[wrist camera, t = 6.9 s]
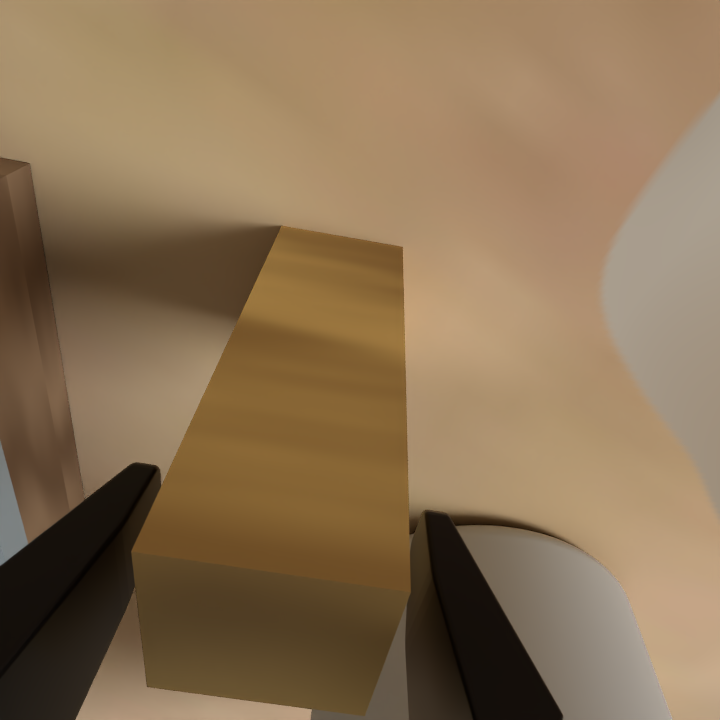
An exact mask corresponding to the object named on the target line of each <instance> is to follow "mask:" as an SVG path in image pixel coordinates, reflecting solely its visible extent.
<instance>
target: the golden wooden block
mask: <svg viewBox="0 0 720 720" xmlns="http://www.w3.org/2000/svg"><path fill="white" fill-rule="evenodd" d="M131 554H132V563H133V571H134V580H135V588H136V597H137V605H138V614H139V622H140V631H141V639H142V648H143V656H144V665H145V673H146V682H147V687H151V688H158V689H166V690H173V691H181V692H188V693H195V694H203V695H210V696H218V697H225V698H233V699H240V700H248V701H255V702H263V703H270V704H277V705H285V706H292V707H300V708H307V709H315V710H322V711H330V712H337V713H344V714H352V715H359V716H365V714H366V711H367V709H368V706H369V703H370V701H371V698H372V695H373V693H374V690H375V687H376V684H377V682H378V679H379V676H380V674H381V671H382V668H383V666H384V663H385V660H386V658H387V655H388V652H389V649H390V647H391V644H392V641H393V639H394V636H395V633H396V631H397V628H398V625H399V623H400V620H401V617H402V615H403V612H404V609H405V606H406V604H407V601H408V598H409V596H410V593H411V580H410V538H409V496H408V453H407V411H406V369H405V326H404V284H403V247H399V246H394V245H388V244H382V243H377V242H371V241H365V240H360V239H354V238H348V237H343V236H337V235H331V234H325V233H320V232H314V231H308V230H303V229H297V228H291V227H286V226H281V228H280V230H279V233H278V235H277V237H276V239H275V241H274V243H273V246H272V248H271V250H270V252H269V254H268V256H267V259H266V261H265V263H264V265H263V267H262V269H261V272H260V274H259V276H258V278H257V280H256V282H255V285H254V287H253V289H252V291H251V293H250V295H249V298H248V300H247V302H246V304H245V306H244V308H243V311H242V313H241V315H240V317H239V319H238V321H237V323H236V326H235V328H234V330H233V332H232V334H231V336H230V339H229V341H228V343H227V345H226V347H225V349H224V352H223V354H222V356H221V358H220V360H219V362H218V365H217V367H216V369H215V371H214V373H213V375H212V378H211V380H210V382H209V384H208V386H207V388H206V391H205V393H204V395H203V397H202V399H201V401H200V404H199V406H198V408H197V410H196V412H195V414H194V417H193V419H192V421H191V423H190V425H189V427H188V430H187V432H186V434H185V436H184V438H183V440H182V443H181V445H180V447H179V449H178V451H177V453H176V456H175V458H174V460H173V462H172V464H171V466H170V469H169V471H168V473H167V475H166V477H165V479H164V482H163V484H162V486H161V488H160V490H159V492H158V495H157V497H156V499H155V501H154V503H153V505H152V507H151V510H150V512H149V514H148V516H147V518H146V520H145V523H144V525H143V527H142V529H141V531H140V533H139V536H138V538H137V540H136V542H135V544H134V546H133V549H132V551H131Z"/></svg>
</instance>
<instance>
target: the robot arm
mask: <svg viewBox="0 0 720 720" xmlns="http://www.w3.org/2000/svg"><path fill="white" fill-rule="evenodd" d="M160 488H161V473H160V469H159V467H158V466H156V465H151V464H145V463H137V462H136V463H133V464H131V465H129V466H128V467H127V468H125V469H124V470H123V471H121V472H120V473H119V474H118V475H116V476H115V477H114V478H112V479H111V480H110V481H109V482H107V483H106V484H105V485H103V486H102V487H101V488H100V489H98V490H97V491H96V492H94V493H93V494H92V495H91V496H89V497H88V498H87V499H85V500H84V501H83V502H82V503H80V504H79V505H78V506H76V507H75V508H74V509H72V510H71V511H70V512H69V513H67V514H66V515H65V516H63V517H62V518H61V519H60V520H58V521H57V522H56V523H54V524H53V525H52V526H51V527H49V528H48V529H47V530H45V531H44V532H43V533H42V534H40V535H39V536H38V537H36V538H35V539H34V540H33V541H31V542H30V543H29V544H27V545H26V546H25V547H24V548H22V549H21V550H20V551H18V552H17V553H16V554H15V555H13V556H12V557H11V558H9V559H8V560H7V561H6V562H4V563H3V564H2V565H0V720H75V719H76V717H77V715H78V713H79V711H80V708H81V706H82V704H83V702H84V700H85V698H86V695H87V693H88V691H89V689H90V687H91V685H92V682H93V680H94V678H95V676H96V674H97V672H98V669H99V667H100V665H101V663H102V661H103V658H104V656H105V654H106V652H107V650H108V648H109V645H110V643H111V641H112V639H113V637H114V635H115V632H116V630H117V628H118V626H119V624H120V622H121V619H122V617H123V615H124V613H125V610H126V608H127V606H128V603H129V601H130V598H131V595H132V593H133V590H134V587H135V580H134V571H133V563H132V554H131V551H132V549H133V546H134V544H135V542H136V540H137V538H138V536H139V533H140V531H141V529H142V527H143V525H144V523H145V520H146V518H147V516H148V514H149V512H150V510H151V507H152V505H153V503H154V501H155V499H156V497H157V495H158V492H159V490H160ZM410 580H411V593H410V596H409V598H408V601H407V611H406V629H405V658H406V676H407V694H408V712H409V720H563V714H562V712H561V710H560V708H559V707H558V705H557V703H556V701H555V700H554V698H553V696H552V694H551V693H550V691H549V689H548V687H547V686H546V684H545V682H544V680H543V679H542V677H541V675H540V673H539V672H538V670H537V668H536V666H535V665H534V663H533V661H532V659H531V658H530V656H529V654H528V652H527V651H526V649H525V647H524V645H523V644H522V642H521V640H520V638H519V637H518V635H517V633H516V631H515V630H514V628H513V626H512V624H511V623H510V621H509V619H508V617H507V616H506V614H505V612H504V610H503V609H502V607H501V605H500V603H499V602H498V600H497V598H496V596H495V595H494V593H493V591H492V589H491V588H490V586H489V584H488V582H487V581H486V579H485V577H484V575H483V574H482V572H481V570H480V568H479V567H478V565H477V563H476V561H475V560H474V558H473V556H472V554H471V553H470V551H469V549H468V547H467V546H466V544H465V542H464V540H463V539H462V537H461V535H460V533H459V532H458V530H457V528H456V526H455V525H454V523H453V521H452V519H451V518H450V516H449V515H448V514H446V513H444V512H438V511H432V510H425V511H423V513H422V514H421V517H420V519H419V522H418V525H417V528H416V530H415V533H414V536H413V538H412V542H411V547H410Z"/></svg>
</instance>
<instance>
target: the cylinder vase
mask: <svg viewBox="0 0 720 720" xmlns="http://www.w3.org/2000/svg"><path fill="white" fill-rule="evenodd" d="M456 528H457V530H458V532H459V533H460V535H461V537H462V539H463V540H464V542H465V544H466V546H467V547H468V549H469V551H470V553H471V554H472V556H473V558H474V560H475V561H476V563H477V565H478V567H479V568H480V570H481V572H482V574H483V575H484V577H485V579H486V581H487V582H488V584H489V586H490V588H491V589H492V591H493V593H494V595H495V596H496V598H497V600H498V602H499V603H500V605H501V607H502V609H503V610H504V612H505V614H506V616H507V617H508V619H509V621H510V623H511V624H512V626H513V628H514V630H515V631H516V633H517V635H518V637H519V638H520V640H521V642H522V644H523V645H524V647H525V649H526V651H527V652H528V654H529V656H530V658H531V659H532V661H533V663H534V665H535V666H536V668H537V670H538V672H539V673H540V675H541V677H542V679H543V680H544V682H545V684H546V686H547V687H548V689H549V691H550V693H551V694H552V696H553V698H554V700H555V701H556V703H557V705H558V707H559V708H560V710H561V712H562V714H563V720H673V719H672V717H671V714H670V711H669V708H668V706H667V703H666V700H665V698H664V695H663V692H662V689H661V687H660V684H659V681H658V679H657V676H656V673H655V670H654V668H653V665H652V662H651V660H650V657H649V654H648V651H647V649H646V646H645V643H644V641H643V638H642V635H641V632H640V630H639V627H638V624H637V622H636V619H635V616H634V613H633V611H632V608H631V605H630V603H629V600H628V598H627V595H626V593H625V592H624V590H623V588H622V586H621V585H620V583H619V582H618V581H617V579H616V578H615V577H614V576H613V575H612V573H611V572H610V571H609V570H608V569H607V568H606V567H604V566H603V565H602V564H601V563H600V562H599V561H597V560H596V559H595V558H593V557H592V556H590V555H589V554H587V553H586V552H584V551H582V550H581V549H579V548H577V547H575V546H573V545H571V544H569V543H566V542H564V541H562V540H559V539H557V538H554V537H551V536H548V535H545V534H541V533H537V532H533V531H529V530H524V529H518V528H512V527H504V526H492V525H463V526H456ZM413 536H414V534H410V535H409V538H410V547H411V542H412V538H413ZM406 611H407V604H406V606H405V609H404V612H403V615H402V617H401V620H400V623H399V625H398V628H397V631H396V633H395V636H394V639H393V641H392V644H391V647H390V649H389V652H388V655H387V658H386V660H385V663H384V666H383V668H382V671H381V674H380V676H379V679H378V682H377V684H376V687H375V690H374V693H373V695H372V698H371V701H370V703H369V706H368V709H367V711H366V714H365V716H359V715H352V714H344V713H337V712H330V711H322V710H315V709H312V712H311V720H409V712H408V694H407V676H406V658H405V629H406Z"/></svg>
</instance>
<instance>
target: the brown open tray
mask: <svg viewBox="0 0 720 720" xmlns="http://www.w3.org/2000/svg"><path fill="white" fill-rule="evenodd" d="M0 441H1V445H2V449H3V452H4V456H5V460H6V463H7V467H8V471H9V475H10V478H11V482H12V486H13V489H14V493H15V497H16V500H17V504H18V508H19V512H20V515H21V519H22V523H23V526H24V530H25V534H26V538H27V541H28V544H29V543H30V542H31V541H33V540H34V539H35V538H36V537H38V536H39V535H40V534H42V533H43V532H44V531H45V530H47V529H48V528H49V527H51V526H52V525H53V524H54V523H56V522H57V521H58V520H60V519H61V518H62V517H63V516H65V515H66V514H67V513H69V512H70V511H71V510H72V509H74V508H75V507H76V506H78V505H79V504H80V503H82V502H83V501H84V493H83V487H82V481H81V475H80V469H79V463H78V457H77V451H76V445H75V438H74V432H73V426H72V420H71V414H70V408H69V402H68V396H67V390H66V383H65V377H64V371H63V365H62V359H61V353H60V347H59V341H58V335H57V328H56V322H55V316H54V310H53V304H52V298H51V292H50V286H49V280H48V273H47V267H46V261H45V255H44V249H43V243H42V237H41V231H40V225H39V218H38V212H37V206H36V200H35V194H34V188H33V182H32V176H31V170H30V164H29V163H24V162H19V161H14V160H8V159H3V158H0Z"/></svg>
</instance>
